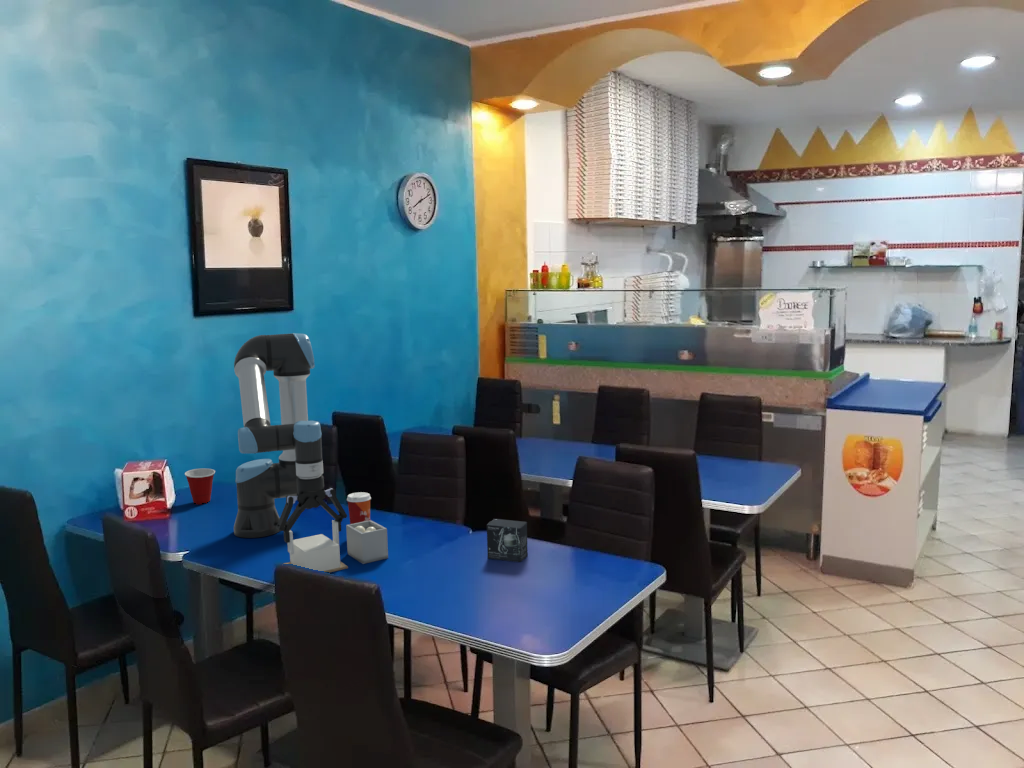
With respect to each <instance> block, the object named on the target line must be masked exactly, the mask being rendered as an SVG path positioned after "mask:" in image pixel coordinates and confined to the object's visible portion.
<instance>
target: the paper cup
mask: <svg viewBox="0 0 1024 768" xmlns="http://www.w3.org/2000/svg"><path fill="white" fill-rule="evenodd" d="M371 500H372V497H371V494H370V493H368V492H364V491H363V492H362V491H360V492H359V491H358V492H352V493H349V494H348V495H347V498H346V501H347V506H348V514H349V517H348V518H349V524H354V523H359V522H364V521H369V520H371Z"/></svg>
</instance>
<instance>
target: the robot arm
mask: <svg viewBox="0 0 1024 768" xmlns="http://www.w3.org/2000/svg"><path fill="white" fill-rule="evenodd" d="M315 366H316V365H315V357H314V352H313V347H312V343H311V340H310V338H309V336H308V335H307V334H305V333H295V332H293V333H280V334H278V333H277V334H259V335H256V336H254V337H251V338H249V339H248V340H246V341H245V343H243V344H242V345H241V347H240V348H239V349H238V351H237V353H236V355H235V357H234V362H233V369H234V374H235V376H236V377H237V378H238V384H239V393H240V402H241V413H242V420H243V421H242V422H243V427H240V428H238V430H237V439H238V451H239V452H240V454H260V453H267V452H268V453H269V452H280V451H282V453H281V454H280V455H279V456H278V462H275V463H274V462H273V460H272V459H271V458H261V459H260V458H259V459H254V460H251V461H247V462H244V463H242V464H241V465H239V466H237V468H236V470H235V481H234V482H235V484H236V499H237V514H236V517H235V521H234V525H233V534H234V536H235V537H237V538H244V539H255V538H265V537H268V536H272V535H275V534H277V533H280V532H283V541H284V543H286V544H287V552H288V553H289V555H290V554H294V547H293V540H294V535H293V534H294V533H293V531H292V528H293V527H294V525H295V524H296V522H297V520H298V519H299V518H300V516H301V514H302V513H303V512H305V510H311V509H315V508H316V509H317V508H319V507H320V506H321V508H323V510H325V511H326V512H327V513H328V514H329V516H331V518H333V519H334V520H333V519H332V520H331V523H332V524H331V528H332V529H331V531H332V541H334V542H336V543H337V544H339V545H340V533H341V532H342V522H343V521H344V519H347V518H348V514H347V513H346V511H345V509H344V508H343V506H342V504H341V502H340V501H339V499H338V497H337V493H336V490H335V489H334V488H332V487H328V488H327V489H326V490H325V480H324V479H325V477H324V475H323V474H324V463H323V462H324V461H323V447H322V446H323V445H322V444H323V443H322V436H323V433H322V429H321V423H320V422H319V421H318V420H317V421H316V420H309V416H308V413H309V412H308V395H307V394H308V393H307V378H308V377H309V376H310V375H311V370H313V369H314V368H315ZM269 371H270V372H272V371H273V372H272V373H273V377H274V378H275V379H276V380H277V381H278V389H279V390H278V391H279V404H280V408H279V409H280V421H281V422H280V424H275V425H273V424H272V423H271V418H270V417H271V416H270V412H269V411H270V410H269V404H268V396H267V388H266V380H265V375H266V372H269ZM271 424H272V425H271ZM326 496H327V497H329V499H330V501H331V503H332V504H333V506H334V507H335V509H336V510H337V512H338V514H337V512H336V511H334V510H333V508H331V507H330V505H328V504H327V503H326V502H325V501H324V499H325V498H326ZM284 498H285V505H284V507H283V510H282V512H281V514H280V516H279V513H278V510H277V508H276V504H275V503H276V502H275V499H284ZM296 501H297V502H298V503H297V505H295V509H294V510H293V511H292V509H293V506H294V504H295V503H296ZM291 512H292V513H291ZM290 514H291V515H290Z"/></svg>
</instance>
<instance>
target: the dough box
mask: <svg viewBox="0 0 1024 768" xmlns="http://www.w3.org/2000/svg"><path fill="white" fill-rule="evenodd" d="M345 526H346V527H345V528H346V529H345V530H346V531H345V532H346V548H347V555H348V556H350V557H351V558H353V559H355V560H356V561H358V562H359V563H361V564H362V565H364V564H369V563H373V562H378V561H381V560H386V559H389V549H388V547H389V546H388V542H389V541H388V529H387V527H384V526H383V525H381V524H379V523H377V522H375V521H374V520H372V519H370V520H369V521H364V522H359V523H354V524H350V523H349V524H346V525H345Z"/></svg>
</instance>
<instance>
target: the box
mask: <svg viewBox="0 0 1024 768" xmlns="http://www.w3.org/2000/svg"><path fill="white" fill-rule="evenodd" d="M486 542H487V543H486V544H487V545H486V546H487V551H486V552H487V559H489V560H497V561H498V560H499V561H507V562H514V563H515V562H516V563H521V562H522V561H524V560H525V559H526V558H527V557H528V555H529V552H528V522H527V521H520V520H510V519H502V518H493V519H492V520H490V521H489V522H488V523H487V524H486Z"/></svg>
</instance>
